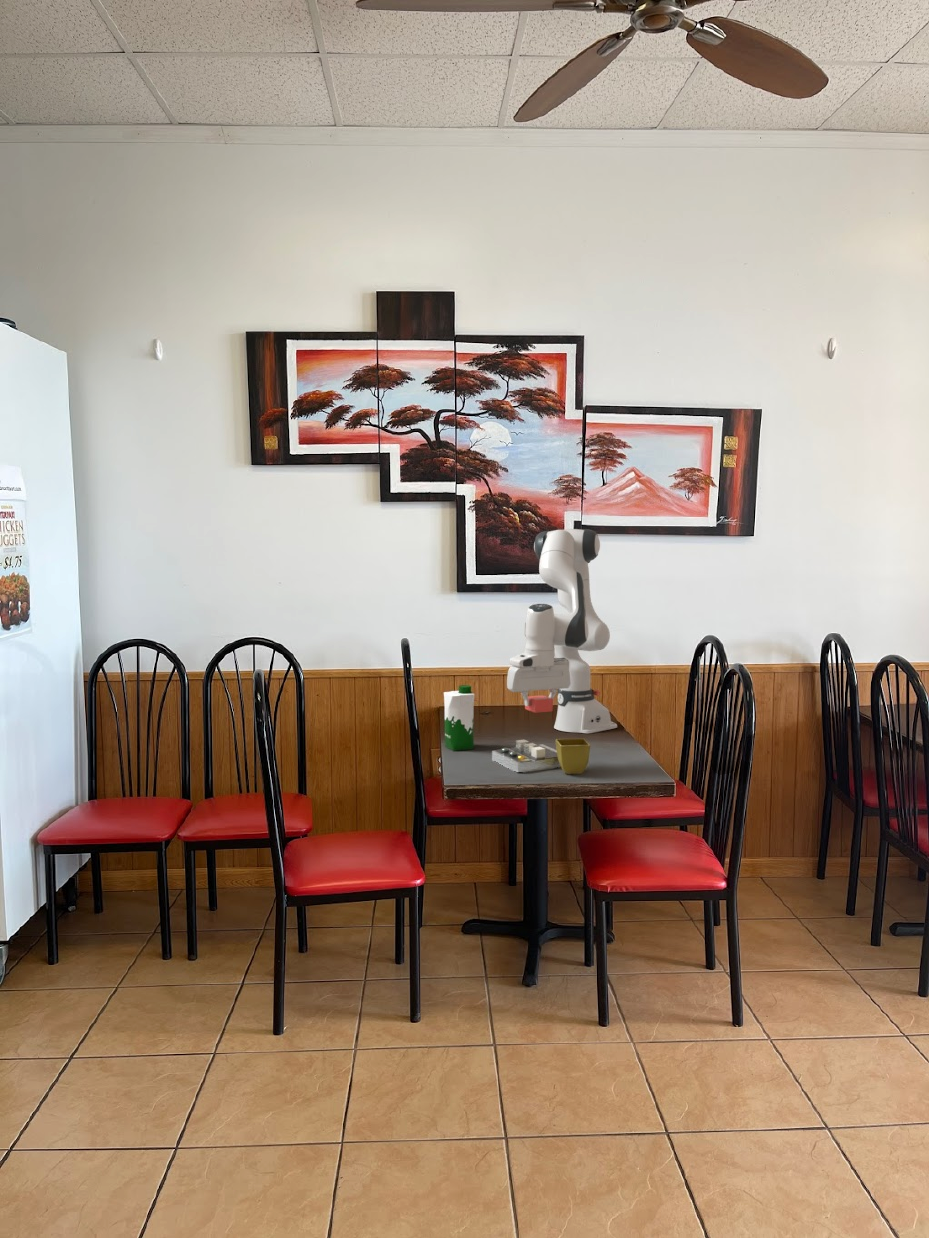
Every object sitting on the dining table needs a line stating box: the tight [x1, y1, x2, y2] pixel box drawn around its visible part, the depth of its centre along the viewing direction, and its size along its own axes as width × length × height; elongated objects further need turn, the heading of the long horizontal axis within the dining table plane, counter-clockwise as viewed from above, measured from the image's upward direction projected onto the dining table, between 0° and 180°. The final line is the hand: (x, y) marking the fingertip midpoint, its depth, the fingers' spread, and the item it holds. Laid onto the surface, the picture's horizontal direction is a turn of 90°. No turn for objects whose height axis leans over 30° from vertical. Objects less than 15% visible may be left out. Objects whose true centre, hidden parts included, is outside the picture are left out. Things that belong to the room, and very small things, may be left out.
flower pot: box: [555, 738, 591, 775], centre depth 266 cm, size 9×9×9 cm
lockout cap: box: [524, 695, 554, 714], centre depth 272 cm, size 6×6×4 cm
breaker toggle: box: [531, 747, 545, 758], centre depth 271 cm, size 3×3×2 cm
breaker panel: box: [491, 739, 561, 773], centre depth 276 cm, size 18×16×6 cm
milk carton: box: [443, 684, 476, 752], centre depth 294 cm, size 9×9×20 cm
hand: (538, 704), depth 272 cm, fingers closed on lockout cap, 6 cm apart
